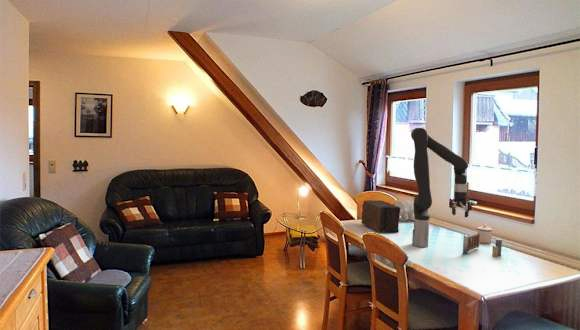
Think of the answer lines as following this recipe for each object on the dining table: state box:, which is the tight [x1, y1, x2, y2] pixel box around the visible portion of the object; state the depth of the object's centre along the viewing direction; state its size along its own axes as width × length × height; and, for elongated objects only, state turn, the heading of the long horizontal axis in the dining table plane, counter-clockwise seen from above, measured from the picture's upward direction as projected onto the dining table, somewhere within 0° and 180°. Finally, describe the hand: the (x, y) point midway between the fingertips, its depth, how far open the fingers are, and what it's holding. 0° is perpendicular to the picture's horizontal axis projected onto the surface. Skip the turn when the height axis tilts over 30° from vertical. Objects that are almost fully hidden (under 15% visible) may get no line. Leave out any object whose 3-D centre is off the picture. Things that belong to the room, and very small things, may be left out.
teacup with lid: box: [476, 224, 493, 244], centre depth 280 cm, size 12×9×12 cm
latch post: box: [491, 238, 503, 258], centre depth 247 cm, size 5×4×10 cm
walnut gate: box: [467, 232, 480, 253], centre depth 255 cm, size 16×2×9 cm, turn 133°
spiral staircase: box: [394, 199, 414, 222], centre depth 339 cm, size 18×18×25 cm
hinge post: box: [462, 235, 469, 256], centre depth 249 cm, size 2×2×11 cm
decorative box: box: [360, 199, 401, 234], centre depth 309 cm, size 31×20×20 cm
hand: (460, 216), depth 261 cm, fingers open, 8 cm apart
